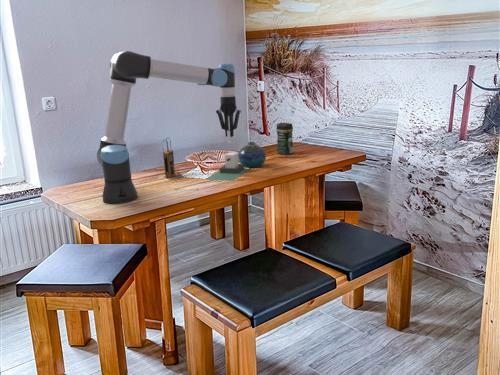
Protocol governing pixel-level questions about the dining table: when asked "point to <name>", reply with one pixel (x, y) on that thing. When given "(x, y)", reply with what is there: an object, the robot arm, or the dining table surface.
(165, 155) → the multimeter
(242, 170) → the board
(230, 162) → the plug
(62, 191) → the dining table surface
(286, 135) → the coffee jar
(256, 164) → the vase
